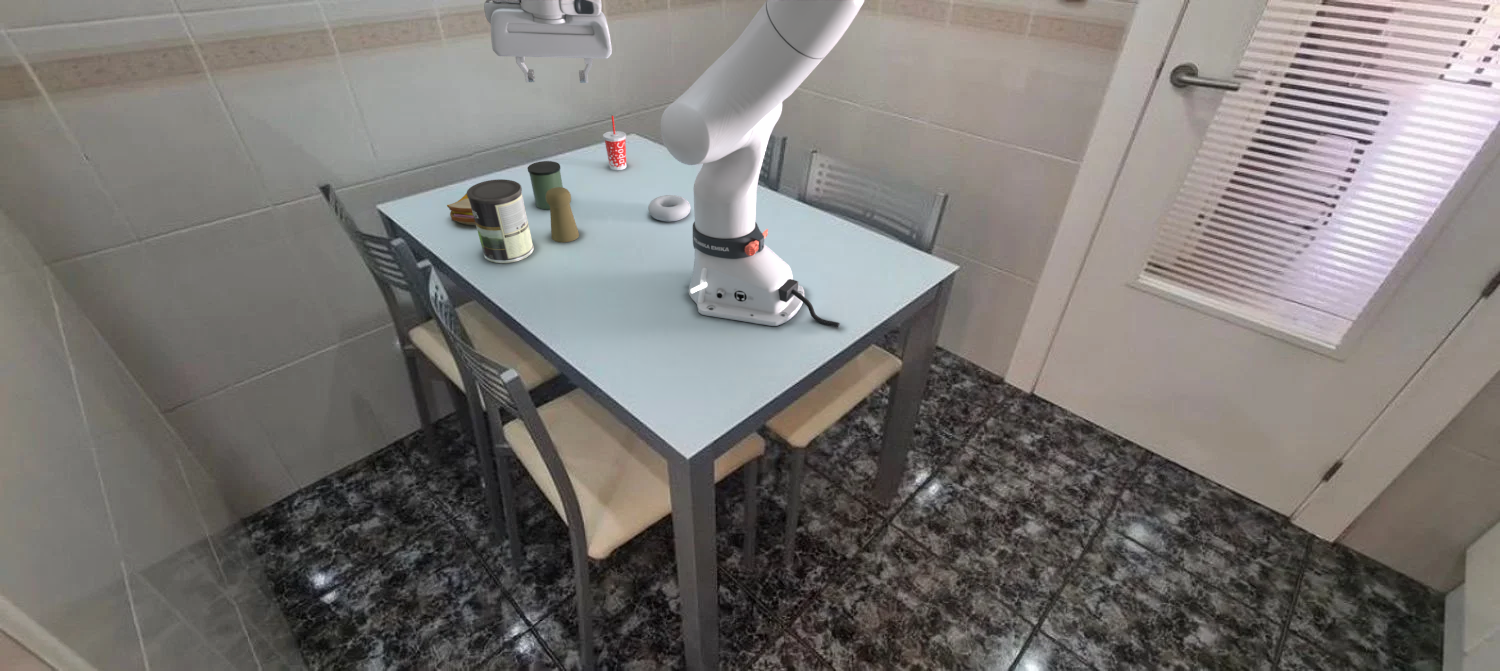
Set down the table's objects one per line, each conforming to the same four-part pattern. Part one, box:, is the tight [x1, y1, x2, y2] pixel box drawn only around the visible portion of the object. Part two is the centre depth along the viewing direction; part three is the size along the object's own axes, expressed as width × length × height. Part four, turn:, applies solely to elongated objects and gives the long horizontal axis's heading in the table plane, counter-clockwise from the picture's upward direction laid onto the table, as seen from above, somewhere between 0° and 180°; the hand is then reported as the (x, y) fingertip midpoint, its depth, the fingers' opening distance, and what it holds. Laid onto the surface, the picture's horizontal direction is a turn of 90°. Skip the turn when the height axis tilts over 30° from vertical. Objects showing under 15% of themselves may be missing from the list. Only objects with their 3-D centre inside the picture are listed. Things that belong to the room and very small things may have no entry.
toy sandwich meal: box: [446, 192, 476, 226], centre depth 142 cm, size 12×14×5 cm
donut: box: [648, 194, 692, 222], centre depth 145 cm, size 10×4×10 cm
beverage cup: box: [602, 115, 627, 171], centre depth 165 cm, size 6×6×14 cm
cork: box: [546, 187, 580, 244], centre depth 133 cm, size 6×6×11 cm
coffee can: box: [466, 178, 535, 264], centre depth 126 cm, size 10×10×14 cm
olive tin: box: [527, 160, 564, 210], centre depth 147 cm, size 7×7×9 cm
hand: (557, 81), depth 112 cm, fingers open, 8 cm apart
